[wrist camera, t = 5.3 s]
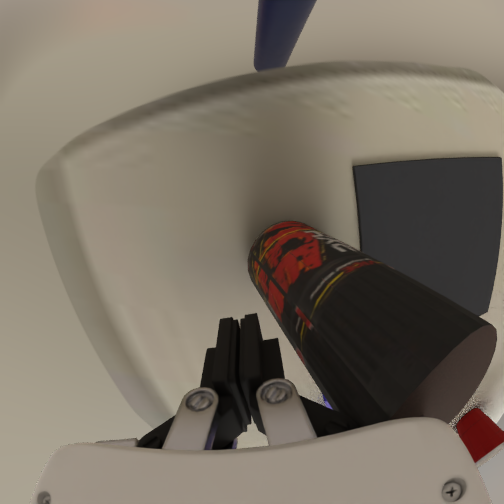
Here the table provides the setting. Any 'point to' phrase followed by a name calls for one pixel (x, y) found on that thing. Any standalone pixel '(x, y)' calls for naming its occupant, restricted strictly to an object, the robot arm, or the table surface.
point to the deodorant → (369, 328)
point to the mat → (435, 223)
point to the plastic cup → (480, 436)
